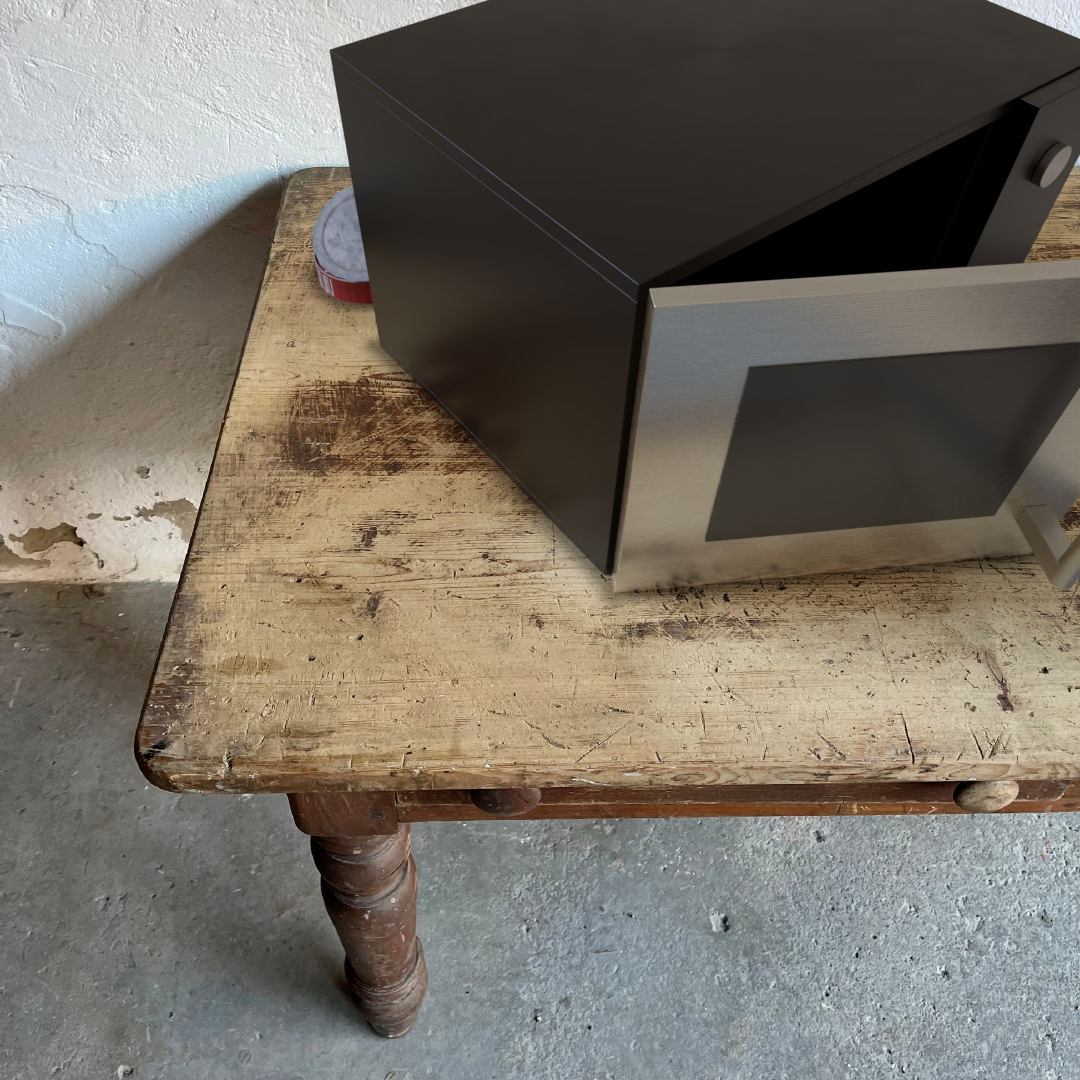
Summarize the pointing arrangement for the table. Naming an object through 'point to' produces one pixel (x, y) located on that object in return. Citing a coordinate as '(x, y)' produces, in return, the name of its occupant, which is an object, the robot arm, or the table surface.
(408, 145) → the microwave
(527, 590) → the table surface
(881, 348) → the microwave door
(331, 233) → the canned food
